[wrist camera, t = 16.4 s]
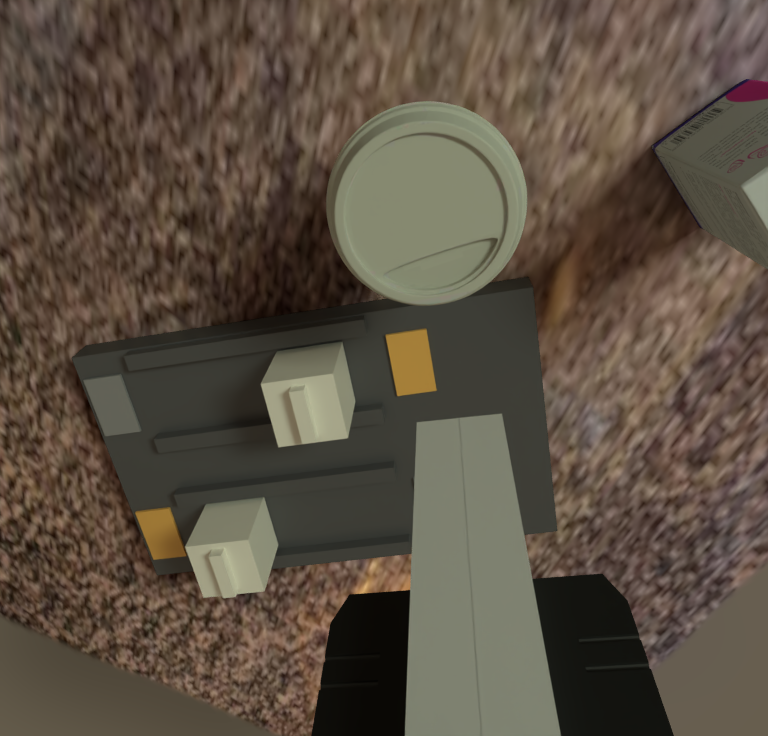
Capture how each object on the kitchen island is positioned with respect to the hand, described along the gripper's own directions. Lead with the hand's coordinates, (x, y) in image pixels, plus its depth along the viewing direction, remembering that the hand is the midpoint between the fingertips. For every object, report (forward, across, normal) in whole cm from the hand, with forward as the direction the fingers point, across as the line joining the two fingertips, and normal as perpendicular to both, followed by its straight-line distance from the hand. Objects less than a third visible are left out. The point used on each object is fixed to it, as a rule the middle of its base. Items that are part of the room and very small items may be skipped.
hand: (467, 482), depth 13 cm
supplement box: (+30, +15, -1) cm, 33 cm away
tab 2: (+27, -16, -20) cm, 37 cm away
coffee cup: (+30, -1, 0) cm, 30 cm away
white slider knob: (+27, -9, -10) cm, 30 cm away
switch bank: (+29, -10, -15) cm, 34 cm away
